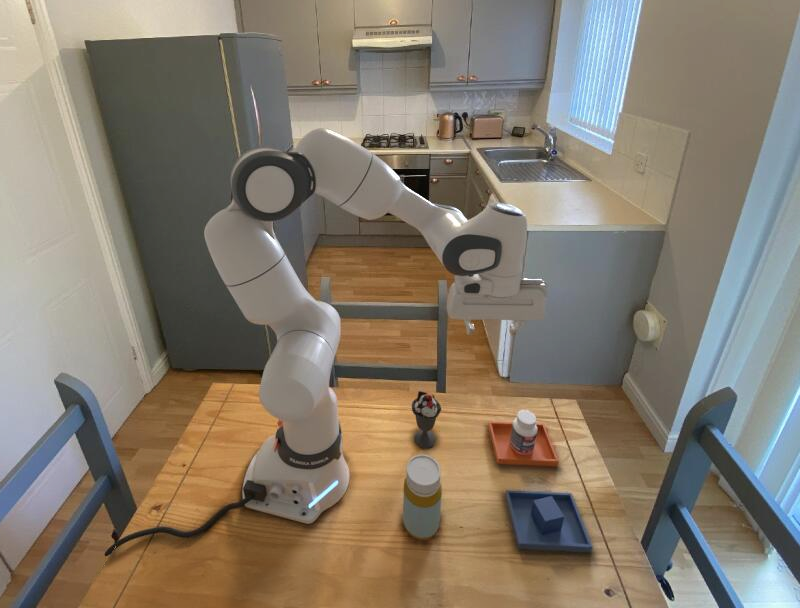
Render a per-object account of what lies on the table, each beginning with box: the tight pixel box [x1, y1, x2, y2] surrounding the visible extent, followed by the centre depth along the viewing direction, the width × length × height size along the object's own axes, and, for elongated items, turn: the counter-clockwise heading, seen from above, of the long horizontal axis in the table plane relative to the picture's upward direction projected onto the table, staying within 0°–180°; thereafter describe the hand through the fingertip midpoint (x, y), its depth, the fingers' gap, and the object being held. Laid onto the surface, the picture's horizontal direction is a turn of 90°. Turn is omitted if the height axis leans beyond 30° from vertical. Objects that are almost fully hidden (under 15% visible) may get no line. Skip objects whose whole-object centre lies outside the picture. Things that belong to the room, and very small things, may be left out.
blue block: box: [531, 496, 564, 535], centre depth 80 cm, size 4×4×4 cm
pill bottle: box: [510, 409, 537, 455], centre depth 95 cm, size 5×5×9 cm
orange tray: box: [487, 421, 560, 467], centre depth 96 cm, size 13×10×2 cm
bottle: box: [402, 453, 443, 541], centre depth 79 cm, size 7×7×15 cm
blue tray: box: [504, 489, 593, 554], centre depth 81 cm, size 13×10×2 cm
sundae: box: [411, 390, 442, 449], centre depth 96 cm, size 7×7×15 cm
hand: (491, 333), depth 92 cm, fingers open, 8 cm apart
